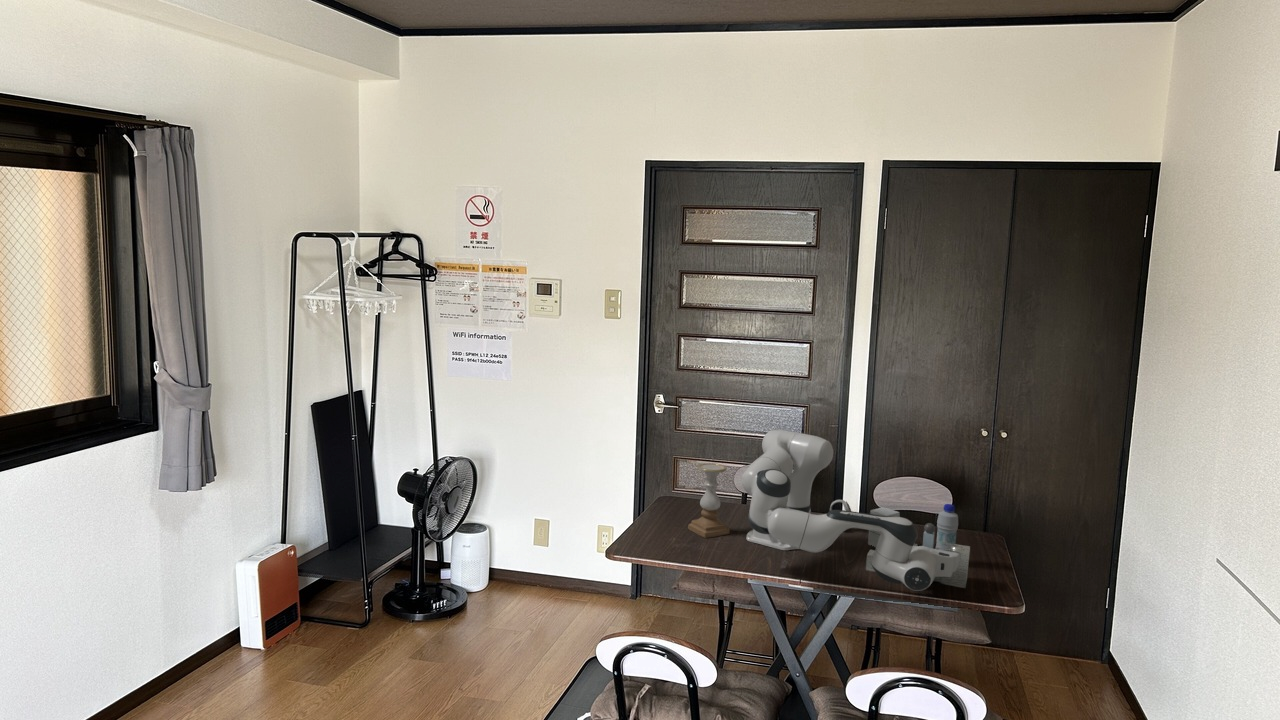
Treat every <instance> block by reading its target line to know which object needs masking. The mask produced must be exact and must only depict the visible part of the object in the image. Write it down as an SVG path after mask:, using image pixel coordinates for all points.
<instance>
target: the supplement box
mask: <svg viewBox="0 0 1280 720" xmlns="http://www.w3.org/2000/svg"><path fill="white" fill-rule="evenodd" d="M869 511H870V512H869V514H873V515H880V516H894V517H901V516H900V512H899V511H897V510H893V509H891V508H887V507H883V506H882V507H879V508H875V509H874V508H873V509H870V510H869ZM880 534H881V533H880V532H879V531H873V530H868V537H867V540H868V541H867V544H868V545H869V546H871V545H872V546H871V547H873V546H874V547H873V548H876V546H877V543H878V540H879V537H880Z"/></svg>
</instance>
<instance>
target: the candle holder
mask: <svg viewBox="0 0 1280 720" xmlns="http://www.w3.org/2000/svg"><path fill="white" fill-rule="evenodd" d="M697 469H698V470H699V471H701V472H703V473H704V474H705V476H706V479H705V482H704V483H703V485H704V488H705V493H704V494H703V495H702V497H701V499H700V501H699V505H700V507H701V508H702V510H701V512H700V514H701V517H699V518H697V519H693V520H691V521H690V522H691V523H688V524H687V525H688V526H687V528H688V530H689V531H691V532H692V533H695V534H696V535H698V536H700V537H702V538H704V539H709V538H713V537H721V536H727V535H730V528H729V527H728V525H727V524H726V523H725V522H723V521H721V519H720V518H718V516H719V512H718V509H719V508H720V506H721V500H720V498H719V496H718V494H717V492H716V490H717V488H718V487H719V485H720V484H719V482H718V481H717V477H718V476H719V475H720V474H721V473H725V472H726V471H727V467H726V465H723V464H719V463H711V462H709V463H708V462H707V463H700V464H698V465H697Z"/></svg>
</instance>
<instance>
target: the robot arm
mask: <svg viewBox="0 0 1280 720" xmlns="http://www.w3.org/2000/svg"><path fill="white" fill-rule="evenodd" d="M761 441H762V443H761V449H762V452H763V453H762V454H761V455H760V456H759V457H758V458H756V459H755V460H754V461H753V462H752V463H751V464H750V465H749V466H747V468H746V469H745V471H744V472H743V474H742V476H741V480H740V481H741V486H742V488H743V489H744V491H745V492H746V493H747V494H748V495H750V496H751V500H750V505H749V510H748V514H747V520H748V521H747V522H748V525H749V526H750V527H751V528H752V529H751V530H749V532H747V534H746V538H745V539H746V540H747V541H748V542H750V543H755V544H759V545H762V546H766V547H770V548H773V549H776V550H781V551H790V550H801V551H802V550H803V551H806V552H809V553H820V552H821V553H822V552H823V551H825V550H827V549H829V547H831V546H832V545H833V544H834V543H835V541H836V540H837V539H838V537H840V536H841V535H842V534H843V533H844V531H845V532H846V531H847V530H849V529H862V530H867V531H869V530H873V531H879V532H880V533H881V534H880V537H879V540H878V543H877V546H876V547H875V549H874V550H875V551H874V554H873V558H872V561H871V565H872V567H873V569H874V570H875V572H874V573H876V574H877V576H879V577H880V578H881V579H883V580H885V581H887V582H889V583H892V584H897V585H899V584H904V585H905V586H904V587H907V589H910V590H911V591H916V592H919V591H920V592H921V591H924V590H927V589H928V588H929V587H930V586H931V584H932V583H933V582H934V581H933V580H934V578H935V577H951V576H952V573H953V572H955V571H956V570H957V568H958V566H959V560H960V554H959V553H956V552H950V551H944V550H941V548H937V547H936V546H935V548H933V549H932V548H928V547H925V546H923V545H919V546H918V543H916V541H917V540H918V537H919V533H918V530H917V528H916V525H915V524H914V522H913V521H912V520H910V519H908V518H905V517H901V516H900V517H894V516H880V515H873V514H870V513H865V512H858V511H853V510H851V511H846V510H845V509H844V510H843V509H832V510H831V511H830V510H829V511H828V512H827V513H824V514H823V513H822V514H814V513H811V512H812V510H811V505H812V504H811V495H812V494H811V492H812V486H813V482H814V480H815V478H816V476H817V475H818V473H819V472H820V471H822V470H823V469H826V468H827V467H828V466H829V465H830V463H831V462H832V461H833V458H834V448H833V445H832V443H831V442H830V441H829V440H828V439H825V438H823V437H820V436H817V435H813V434H812V435H811V434H808V433H803V432H797V431H790V430H785V429H773V430H769V431H767V432H766V434H765V435H764V436H763V438H762V440H761Z"/></svg>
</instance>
